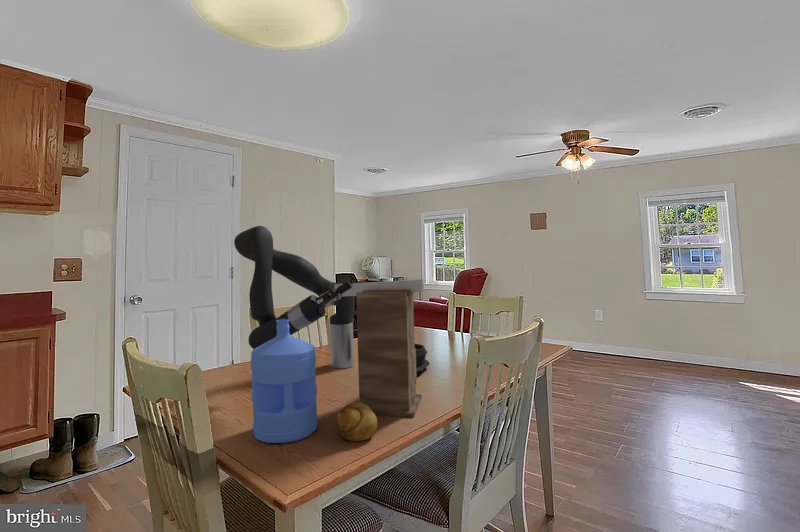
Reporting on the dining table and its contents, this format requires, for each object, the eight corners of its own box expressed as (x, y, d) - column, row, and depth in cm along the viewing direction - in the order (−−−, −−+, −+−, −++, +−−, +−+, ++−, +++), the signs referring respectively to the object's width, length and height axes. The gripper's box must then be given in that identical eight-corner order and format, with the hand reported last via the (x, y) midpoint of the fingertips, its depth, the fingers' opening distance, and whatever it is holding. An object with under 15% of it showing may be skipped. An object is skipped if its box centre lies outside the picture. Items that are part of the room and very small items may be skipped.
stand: (367, 395, 125) (364, 288, 124) (421, 397, 122) (418, 287, 121) (352, 414, 110) (349, 292, 109) (413, 417, 107) (410, 292, 106)
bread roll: (338, 423, 104) (337, 393, 104) (375, 420, 105) (374, 390, 105) (337, 446, 91) (336, 412, 91) (379, 443, 93) (378, 408, 93)
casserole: (381, 361, 167) (381, 341, 166) (426, 359, 167) (425, 339, 167) (381, 379, 142) (380, 355, 142) (433, 377, 142) (433, 353, 142)
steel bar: (334, 296, 123) (333, 284, 123) (424, 290, 118) (423, 278, 118) (329, 297, 119) (328, 285, 119) (422, 291, 114) (421, 279, 114)
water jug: (251, 425, 104) (247, 318, 104) (311, 414, 111) (308, 313, 110) (255, 451, 90) (251, 327, 90) (324, 437, 96) (320, 321, 96)
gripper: (289, 304, 116) (337, 274, 113) (309, 299, 130) (352, 272, 127) (302, 326, 116) (351, 296, 113) (321, 319, 130) (364, 292, 127)
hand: (351, 283), depth 120 cm, fingers closed on steel bar, 3 cm apart
